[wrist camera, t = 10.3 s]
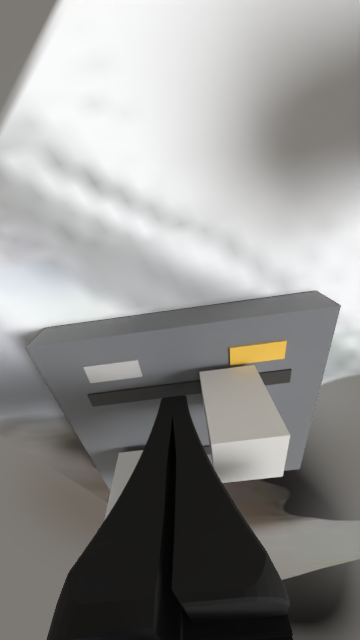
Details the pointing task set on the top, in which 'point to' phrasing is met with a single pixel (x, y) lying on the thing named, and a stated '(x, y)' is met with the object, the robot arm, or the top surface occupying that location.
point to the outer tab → (243, 425)
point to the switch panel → (184, 367)
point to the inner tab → (122, 475)
